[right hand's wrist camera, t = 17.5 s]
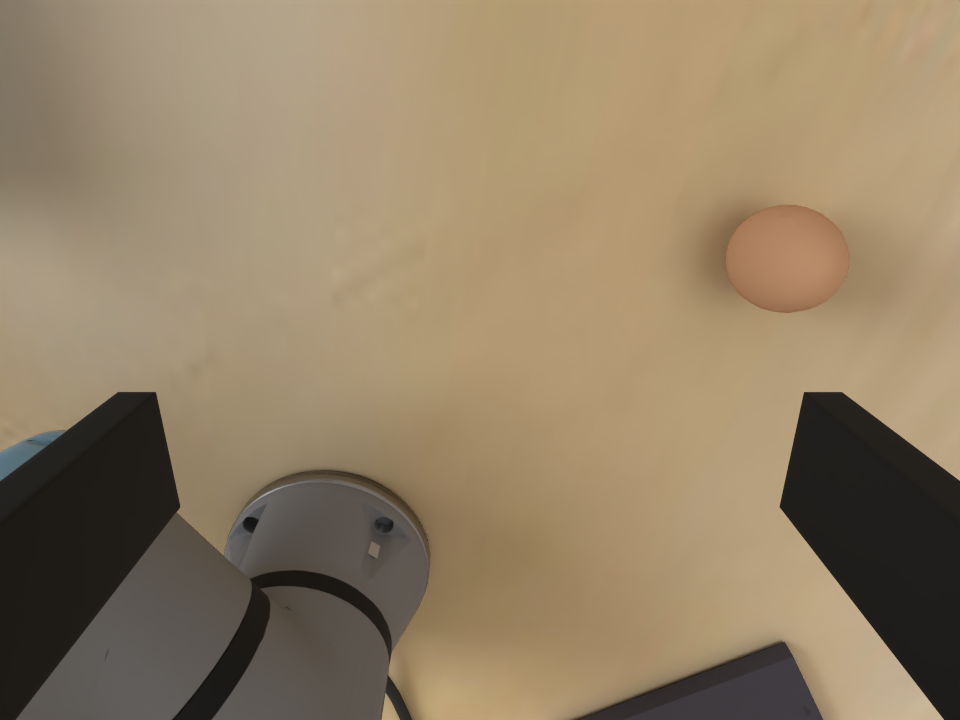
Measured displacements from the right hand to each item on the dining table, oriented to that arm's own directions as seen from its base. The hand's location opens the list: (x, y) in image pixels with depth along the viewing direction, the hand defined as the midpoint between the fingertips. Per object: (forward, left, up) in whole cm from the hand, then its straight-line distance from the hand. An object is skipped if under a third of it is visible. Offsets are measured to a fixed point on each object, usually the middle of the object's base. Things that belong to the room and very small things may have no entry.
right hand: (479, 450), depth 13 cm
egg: (-1, -17, -28) cm, 33 cm away
